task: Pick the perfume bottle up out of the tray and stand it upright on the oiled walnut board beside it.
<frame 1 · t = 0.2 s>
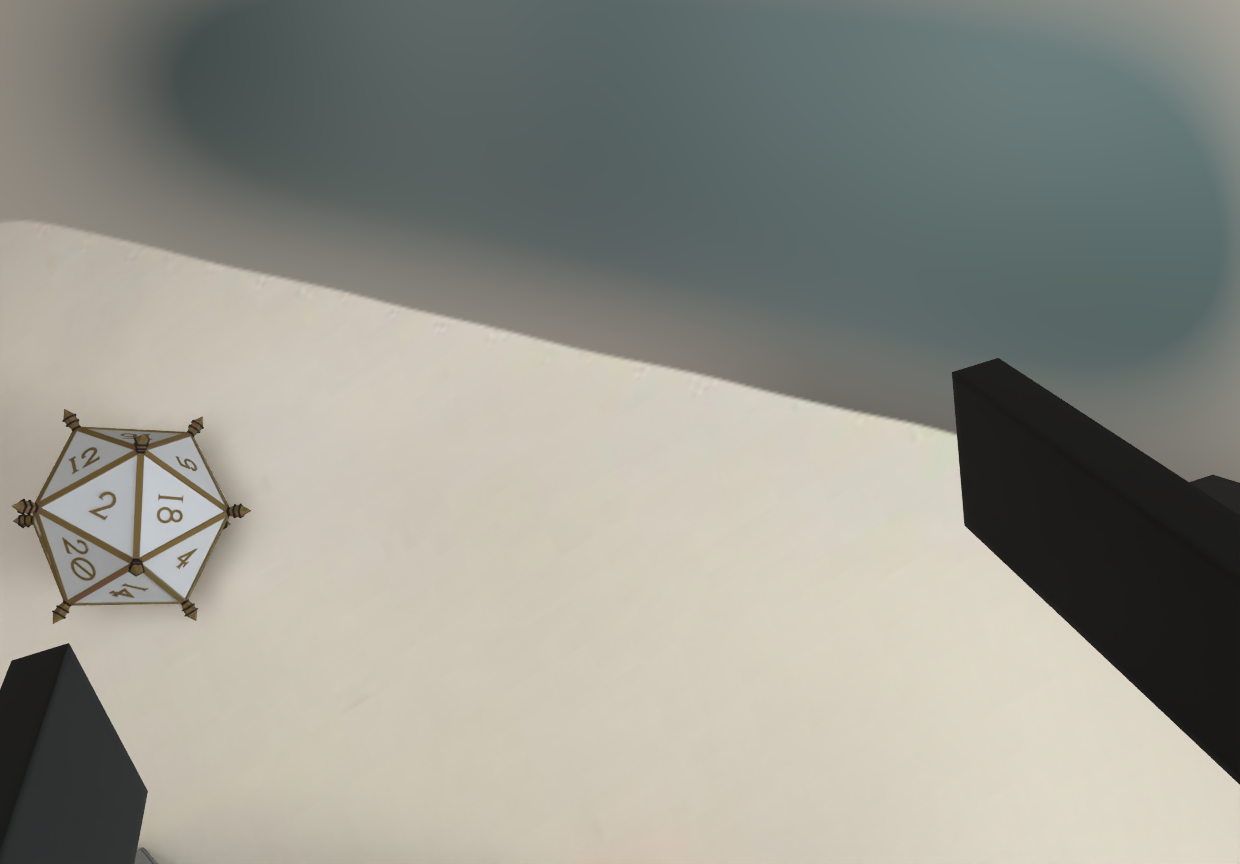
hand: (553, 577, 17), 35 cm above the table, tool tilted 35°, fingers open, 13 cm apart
game die: (160, 526, 51), on the table
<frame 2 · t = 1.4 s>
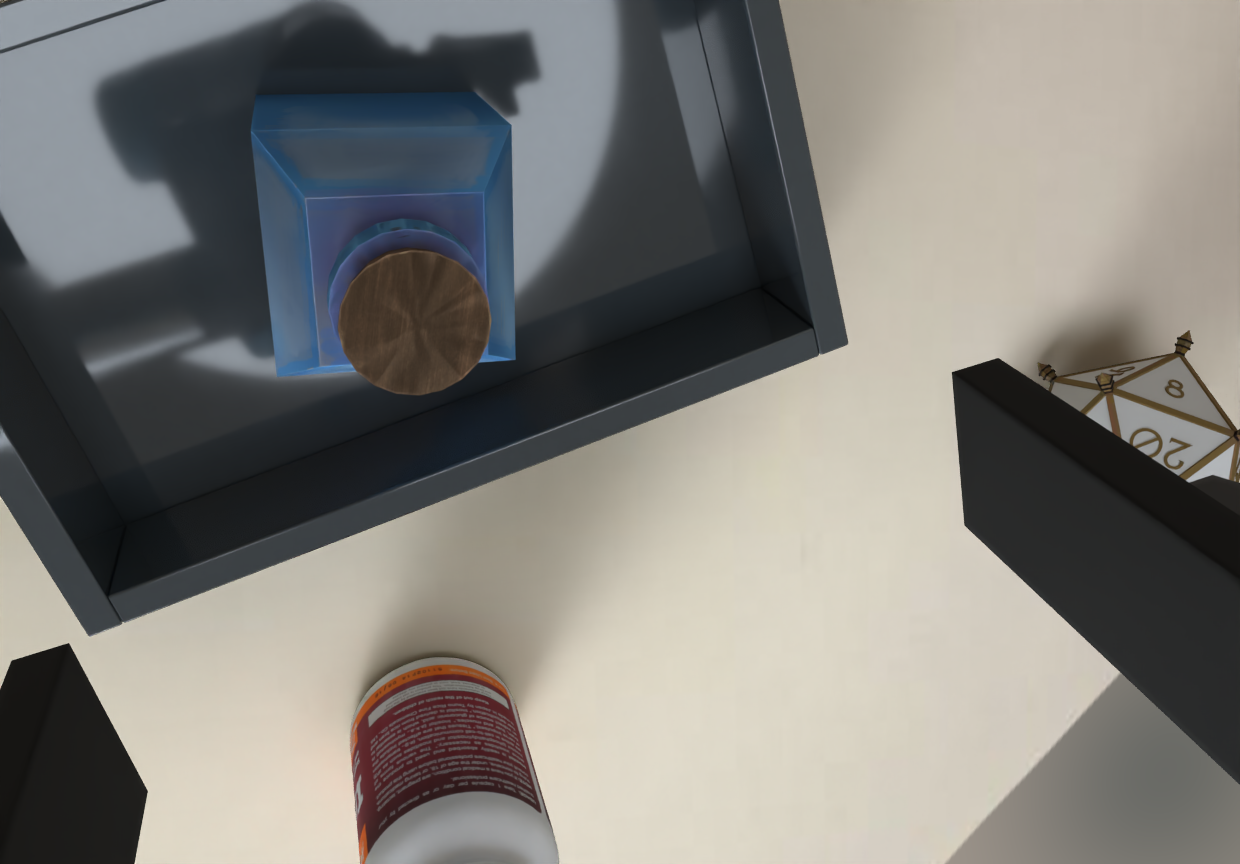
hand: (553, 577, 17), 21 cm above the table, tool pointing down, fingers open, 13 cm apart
game die: (1064, 416, 45), on the table
pill bottle: (432, 717, 43), on the table
perfume bottle: (374, 198, 35), resting on tray
tray: (373, 197, 35), on the table
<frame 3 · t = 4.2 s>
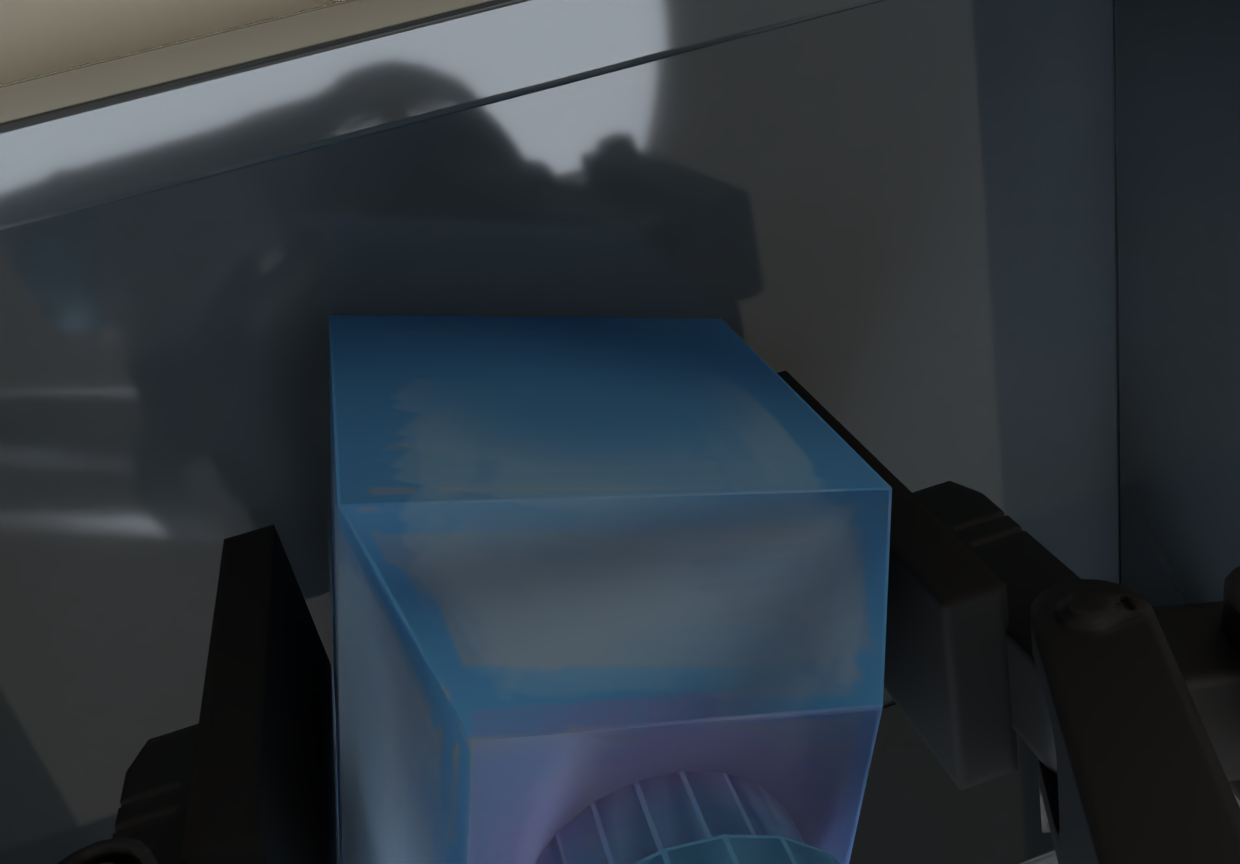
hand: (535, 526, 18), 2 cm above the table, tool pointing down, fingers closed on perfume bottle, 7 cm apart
perfume bottle: (521, 489, 19), resting on tray, touching gripper
tray: (519, 483, 20), on the table
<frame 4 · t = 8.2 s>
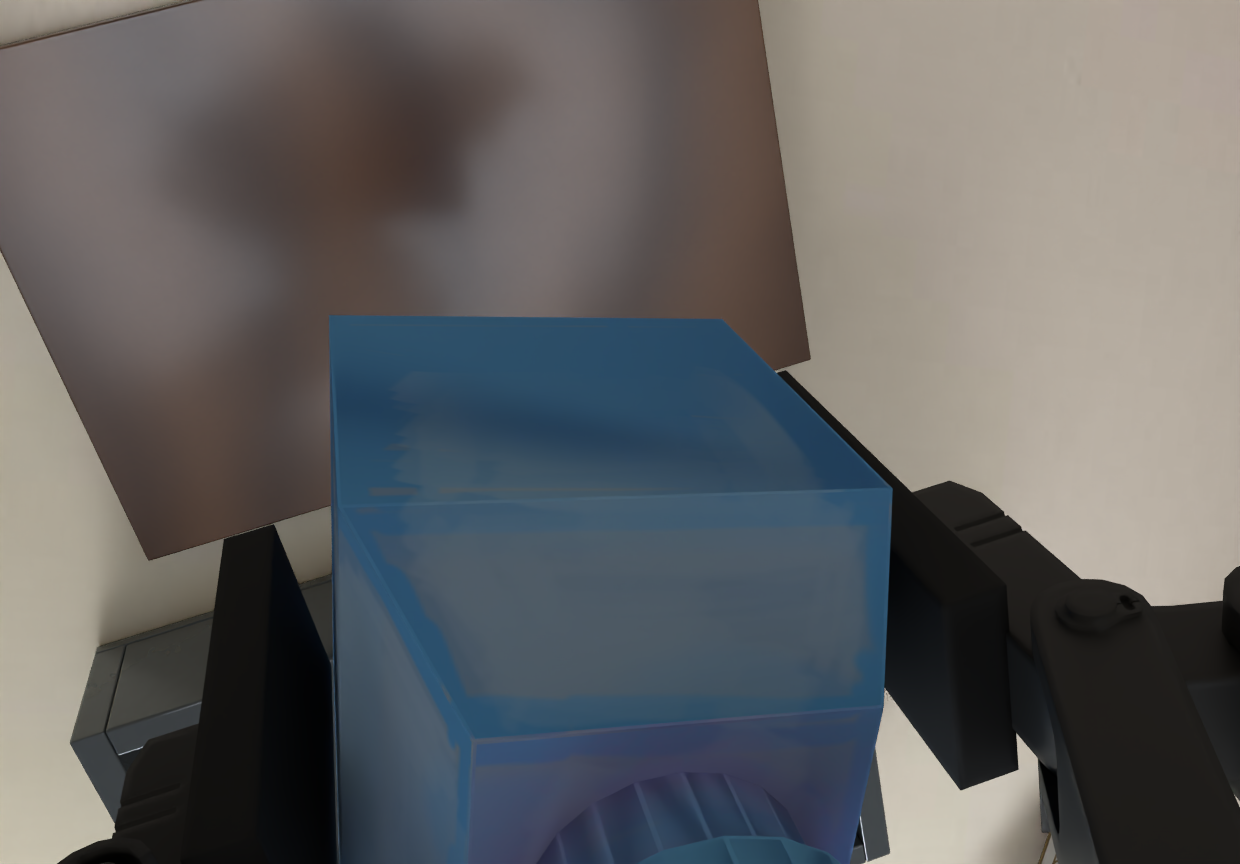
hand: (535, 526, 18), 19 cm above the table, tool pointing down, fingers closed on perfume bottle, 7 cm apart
board: (422, 225, 34), on the table
game die: (1060, 838, 53), on the table
perfume bottle: (521, 489, 19), point 17 cm above the table, touching gripper
tray: (511, 715, 43), on the table
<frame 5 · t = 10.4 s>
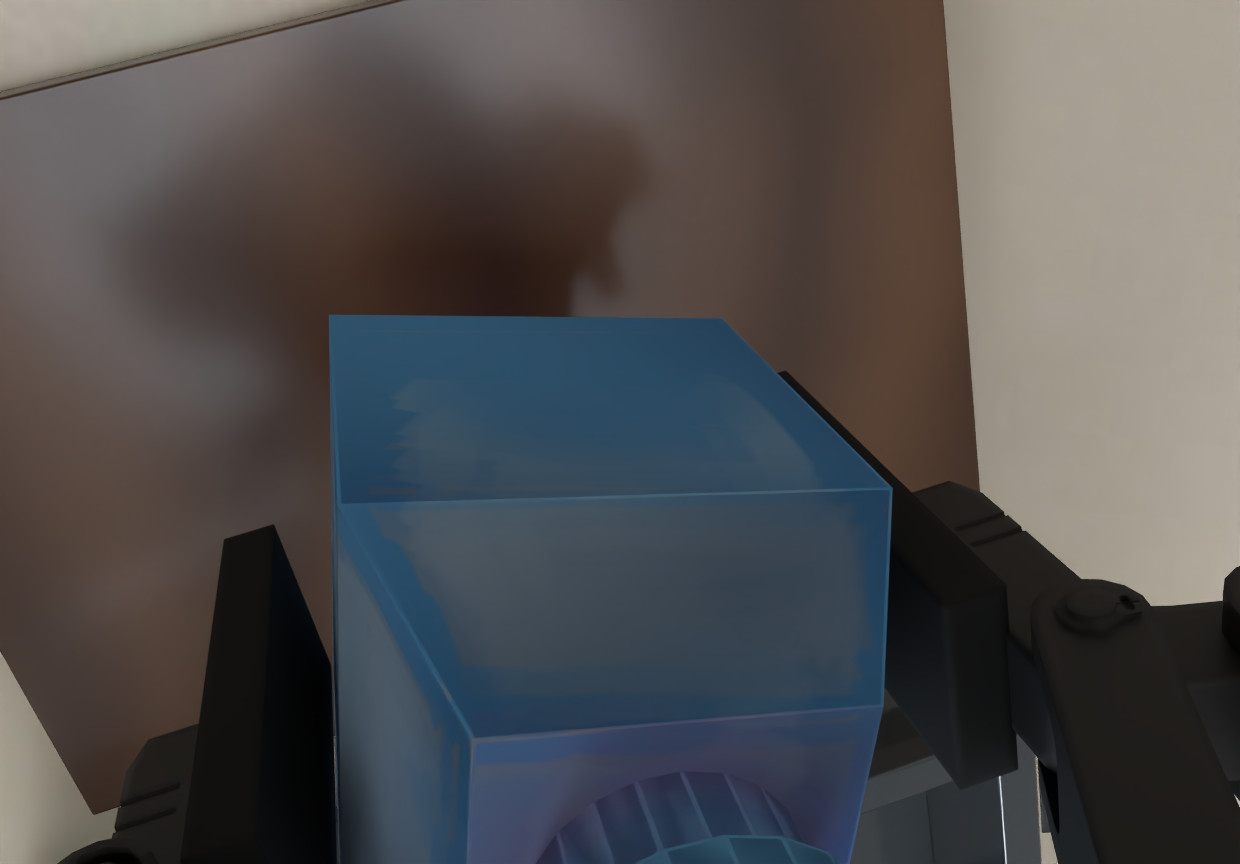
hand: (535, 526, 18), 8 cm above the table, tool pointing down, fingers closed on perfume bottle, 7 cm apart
board: (471, 360, 25), on the table
perfume bottle: (521, 489, 19), point 6 cm above the table, touching gripper
when the fingers open (2 cm above the table, at t = 12.1 s): perfume bottle stays where it is, resting on board.
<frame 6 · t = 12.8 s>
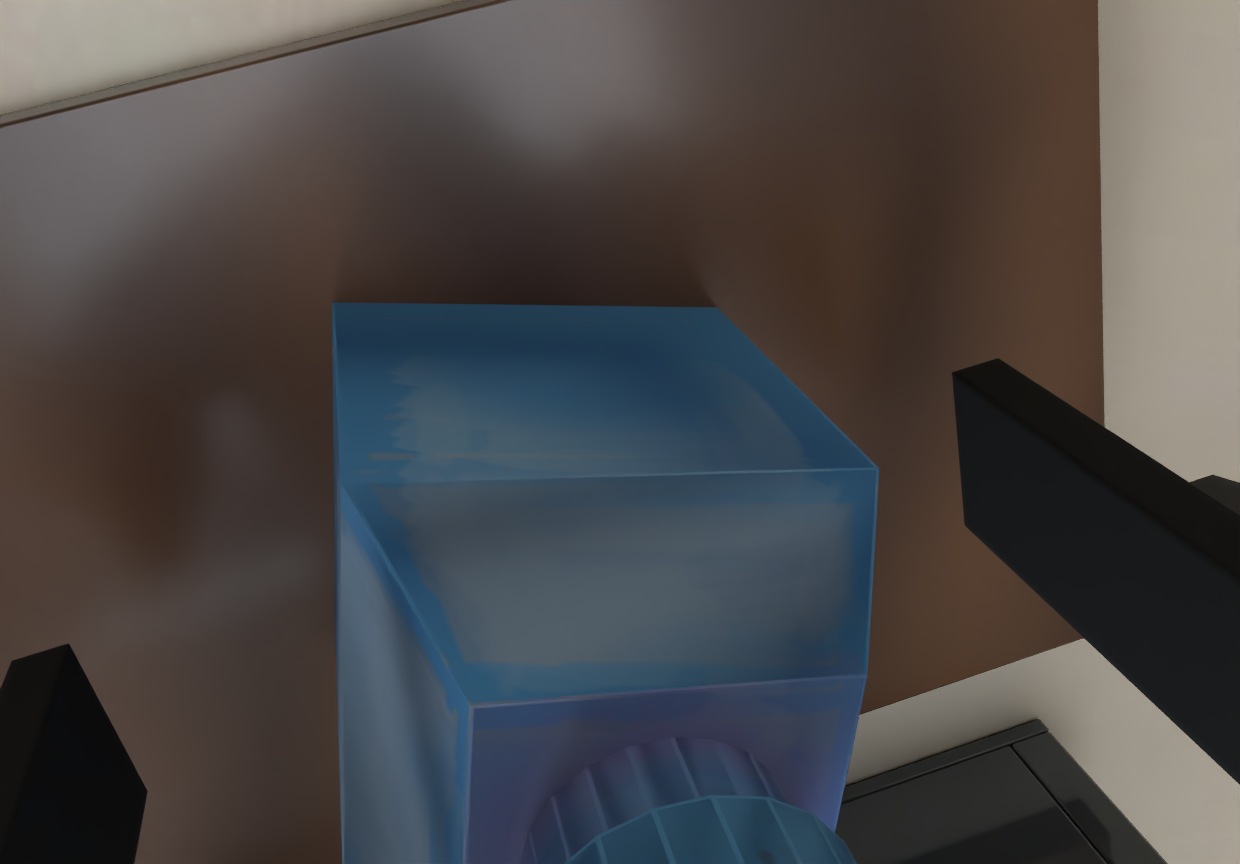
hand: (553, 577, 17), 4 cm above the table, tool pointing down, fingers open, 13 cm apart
board: (511, 450, 21), on the table
perfume bottle: (520, 474, 20), point 1 cm above the table, touching board
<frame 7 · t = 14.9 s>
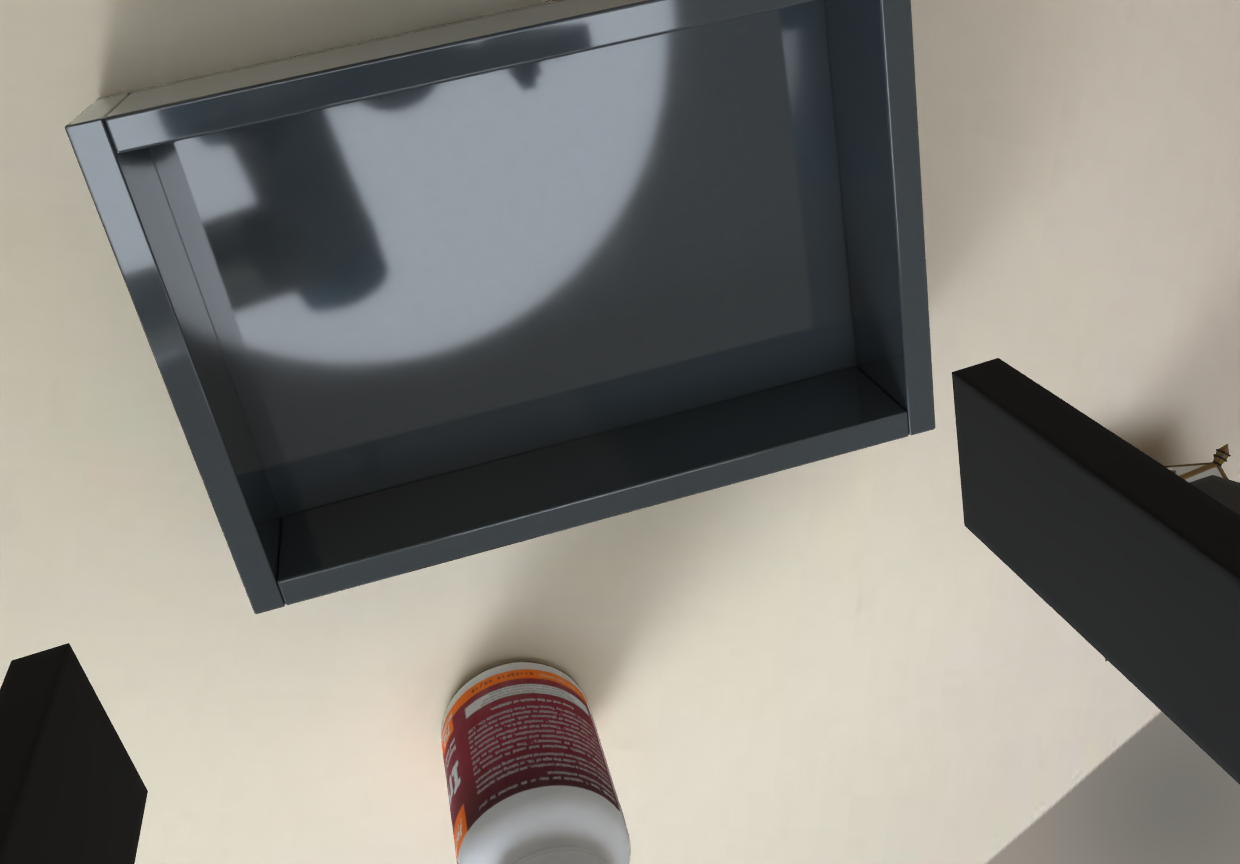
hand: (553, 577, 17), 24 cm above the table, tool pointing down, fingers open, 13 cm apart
game die: (1104, 505, 50), on the table
pill bottle: (514, 715, 48), on the table
tray: (537, 256, 40), on the table
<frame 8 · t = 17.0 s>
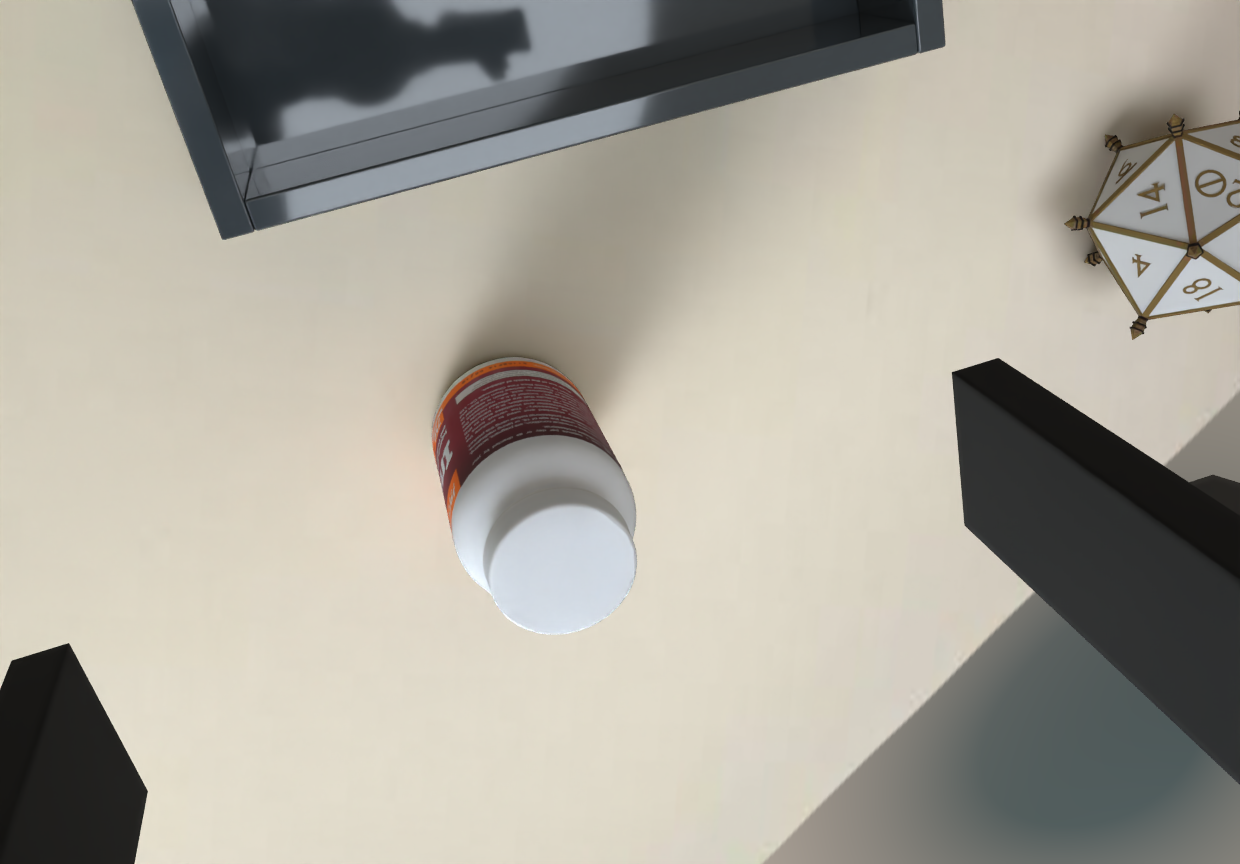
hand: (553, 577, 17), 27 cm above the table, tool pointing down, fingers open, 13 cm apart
game die: (1123, 196, 48), on the table
pill bottle: (508, 425, 45), on the table
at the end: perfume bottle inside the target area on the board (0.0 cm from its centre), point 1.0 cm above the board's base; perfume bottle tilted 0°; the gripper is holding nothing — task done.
